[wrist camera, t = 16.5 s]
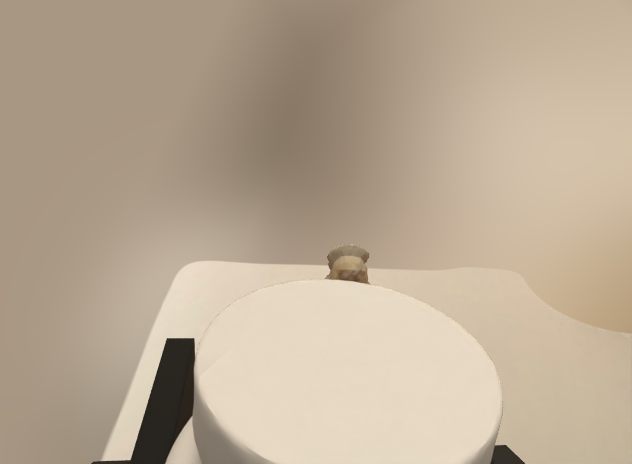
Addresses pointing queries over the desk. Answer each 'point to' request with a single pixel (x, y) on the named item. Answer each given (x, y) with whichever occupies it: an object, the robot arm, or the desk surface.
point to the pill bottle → (339, 382)
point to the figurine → (348, 263)
